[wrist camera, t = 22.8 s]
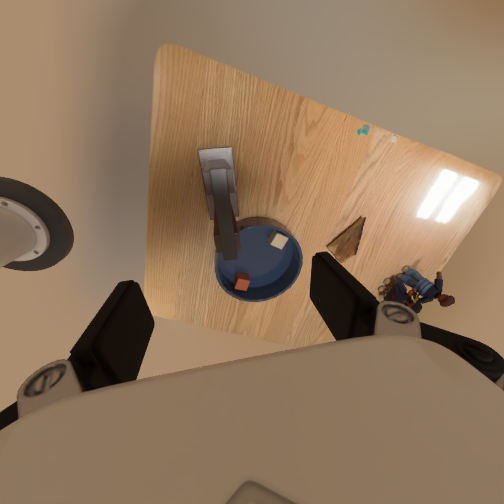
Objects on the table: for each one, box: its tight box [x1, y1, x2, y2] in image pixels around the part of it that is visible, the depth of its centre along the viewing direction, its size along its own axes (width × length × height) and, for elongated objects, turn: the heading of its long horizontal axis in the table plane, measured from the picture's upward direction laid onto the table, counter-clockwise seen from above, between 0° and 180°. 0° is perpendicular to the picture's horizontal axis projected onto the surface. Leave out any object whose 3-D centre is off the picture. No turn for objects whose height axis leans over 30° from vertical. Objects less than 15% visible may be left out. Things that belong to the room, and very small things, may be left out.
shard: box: [327, 217, 366, 263], centre depth 50 cm, size 11×8×2 cm
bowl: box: [215, 217, 303, 302], centre depth 46 cm, size 19×19×6 cm
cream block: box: [268, 229, 289, 249], centre depth 45 cm, size 3×3×3 cm
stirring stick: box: [209, 166, 238, 261], centre depth 22 cm, size 2×10×2 cm, turn 4°
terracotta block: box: [234, 272, 250, 291], centre depth 49 cm, size 3×3×3 cm
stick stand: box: [198, 147, 241, 253], centre depth 31 cm, size 6×13×20 cm, turn 4°
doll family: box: [378, 266, 455, 314], centre depth 56 cm, size 23×9×13 cm, turn 172°
